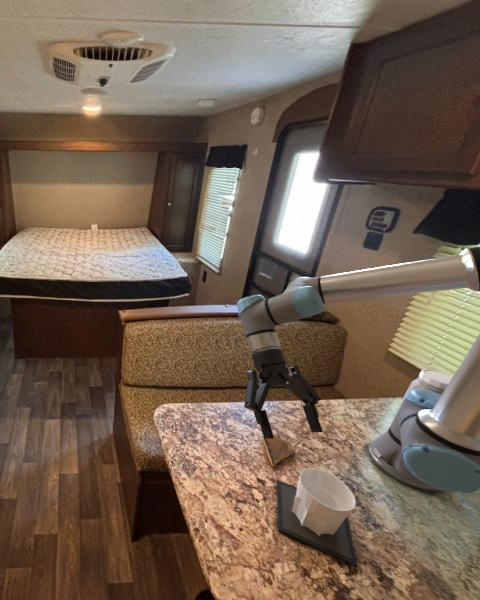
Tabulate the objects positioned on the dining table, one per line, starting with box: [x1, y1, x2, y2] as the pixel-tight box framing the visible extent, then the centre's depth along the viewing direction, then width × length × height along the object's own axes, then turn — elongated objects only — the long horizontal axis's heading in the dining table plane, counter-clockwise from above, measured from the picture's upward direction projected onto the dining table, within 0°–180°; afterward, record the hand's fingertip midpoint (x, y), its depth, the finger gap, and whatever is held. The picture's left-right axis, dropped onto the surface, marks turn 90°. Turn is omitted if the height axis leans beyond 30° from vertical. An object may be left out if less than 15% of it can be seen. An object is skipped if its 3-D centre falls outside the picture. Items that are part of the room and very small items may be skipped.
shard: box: [261, 433, 296, 467], centre depth 91 cm, size 11×8×2 cm
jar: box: [395, 368, 453, 413], centre depth 99 cm, size 10×10×18 cm
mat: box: [276, 479, 358, 568], centre depth 73 cm, size 14×14×1 cm
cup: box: [292, 467, 357, 536], centre depth 71 cm, size 10×10×10 cm
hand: (293, 435), depth 78 cm, fingers open, 13 cm apart
